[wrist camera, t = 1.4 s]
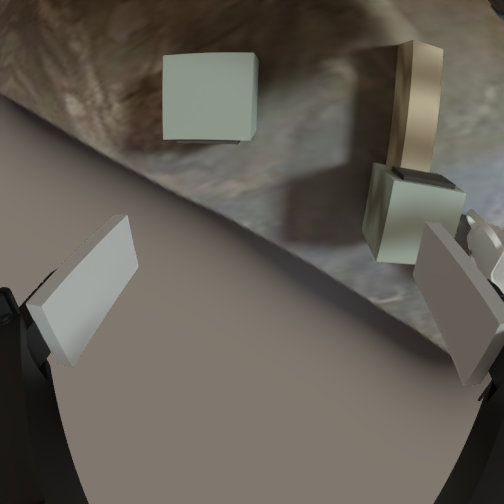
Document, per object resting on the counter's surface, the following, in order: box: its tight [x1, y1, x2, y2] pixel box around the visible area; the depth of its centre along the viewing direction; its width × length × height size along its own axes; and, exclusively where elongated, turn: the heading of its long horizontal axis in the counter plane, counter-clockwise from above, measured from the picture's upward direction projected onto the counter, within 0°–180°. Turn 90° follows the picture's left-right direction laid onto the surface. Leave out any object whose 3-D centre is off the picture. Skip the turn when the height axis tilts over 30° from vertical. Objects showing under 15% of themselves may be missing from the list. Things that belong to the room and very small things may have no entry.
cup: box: [466, 209, 504, 294], centre depth 27 cm, size 7×10×8 cm
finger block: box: [163, 52, 259, 144], centre depth 25 cm, size 7×7×6 cm
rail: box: [361, 40, 467, 264], centre depth 24 cm, size 19×7×8 cm, turn 178°
